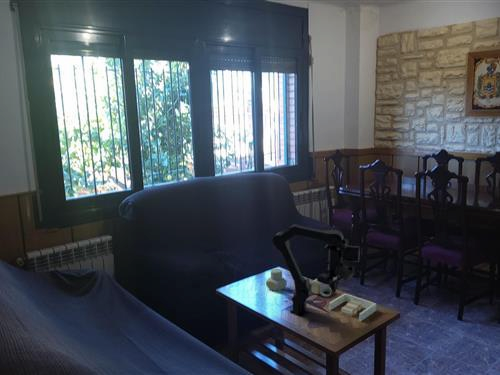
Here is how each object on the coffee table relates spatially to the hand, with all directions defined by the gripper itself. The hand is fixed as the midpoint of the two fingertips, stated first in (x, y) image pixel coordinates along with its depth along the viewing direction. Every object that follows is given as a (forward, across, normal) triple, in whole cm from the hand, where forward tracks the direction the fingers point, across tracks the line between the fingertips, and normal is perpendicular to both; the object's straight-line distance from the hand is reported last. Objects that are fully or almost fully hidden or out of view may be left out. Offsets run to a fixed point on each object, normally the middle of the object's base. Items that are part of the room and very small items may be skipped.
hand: (333, 292), depth 191 cm
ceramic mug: (+12, +17, +19) cm, 28 cm away
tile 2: (+12, +13, -3) cm, 18 cm away
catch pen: (+12, +12, -3) cm, 17 cm away
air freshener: (+12, +5, +39) cm, 41 cm away
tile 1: (+12, +8, -3) cm, 15 cm away
